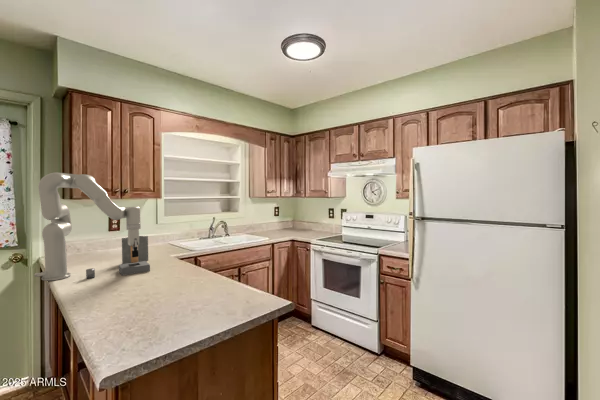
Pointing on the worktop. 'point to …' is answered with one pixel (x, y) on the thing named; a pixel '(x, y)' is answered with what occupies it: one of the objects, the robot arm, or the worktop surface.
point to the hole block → (134, 268)
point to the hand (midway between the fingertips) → (134, 256)
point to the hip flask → (141, 250)
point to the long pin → (133, 259)
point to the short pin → (90, 273)
